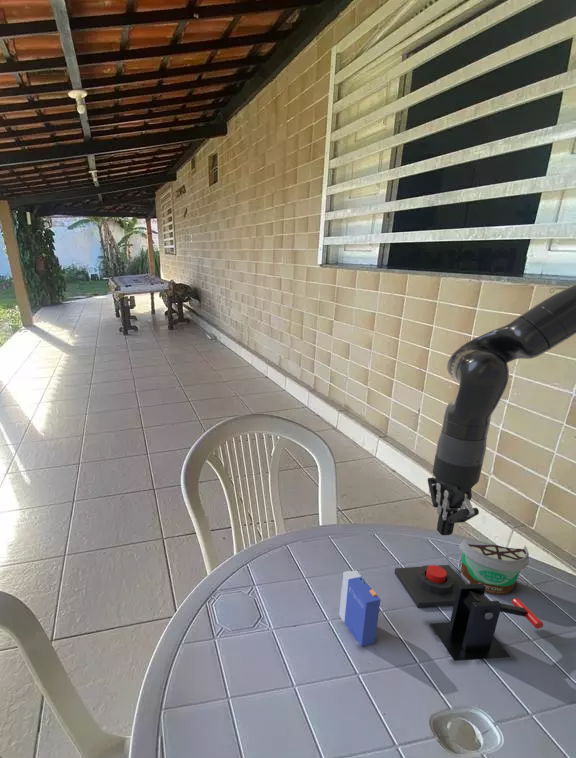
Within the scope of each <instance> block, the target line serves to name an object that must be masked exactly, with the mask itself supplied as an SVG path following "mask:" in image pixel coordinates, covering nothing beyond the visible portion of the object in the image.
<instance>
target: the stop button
mask: <svg viewBox="0 0 576 758" xmlns="http://www.w3.org/2000/svg"><path fill="white" fill-rule="evenodd" d="M429 565H430V566H428V567H427V571H426V577H427V578H428V579H429V580H430V581H432V582H435V583H439V584H440V583H444V582H445V581H446V576H447V573H446V571H445V570H444V569H443V568H441V567H439V566H437V565H436V564H429Z"/></svg>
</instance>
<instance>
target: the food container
mask: <svg viewBox="0 0 576 758" xmlns="http://www.w3.org/2000/svg"><path fill="white" fill-rule="evenodd" d="M458 548H459V550H460V551H461V566H460V576H461V577H462V580H463V581H465V582H466V584H483V585H484V586H485V587H486V588H485V593H486V594H490V595H496V596H497V595H498V596H501V595H502V596H503V595H508V594H510V593H511V592H512V591H513V589H514V587H515V585H516V582H517V580H518V578H519V576H520V573H521V571H522V570H524V569H526V568H527V566H529V564H530V558H529V557H530V556H529V551H528V547H527V545H524V547H523V548H514V547H506V546H502V545H496V544H470V543H467V542H466V540H465V539H463V541H461V543H460V545H458Z"/></svg>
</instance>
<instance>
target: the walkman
mask: <svg viewBox="0 0 576 758" xmlns="http://www.w3.org/2000/svg"><path fill="white" fill-rule="evenodd" d="M342 573H343V574H342V583H341V589H340V601H339V611H338V616H339V617H340V618H341V620H342V621H343V623H344V625H345V626H346V628H347V629H348V631H349V632H350V633H351V635H352V637H353V638H354V640H355V641H356V642H358V643H359V645H360V647H361V648H362V647H365V646H366V647H367V646H370V645H374V644H376V637H377V629H378V623H379V616H380V615H379V614H380V608H381V598H380V597H379V596H378V595H377V593H376V592H375V590H374V589H373V588H372V587H371V586H370V585H369V583H367V581H366V580H365V579H364V578H363V576H362V575H361V574H360V572H359V571H358V570H356V569H355V570H351V571H350V570H347V571H343V572H342Z"/></svg>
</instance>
